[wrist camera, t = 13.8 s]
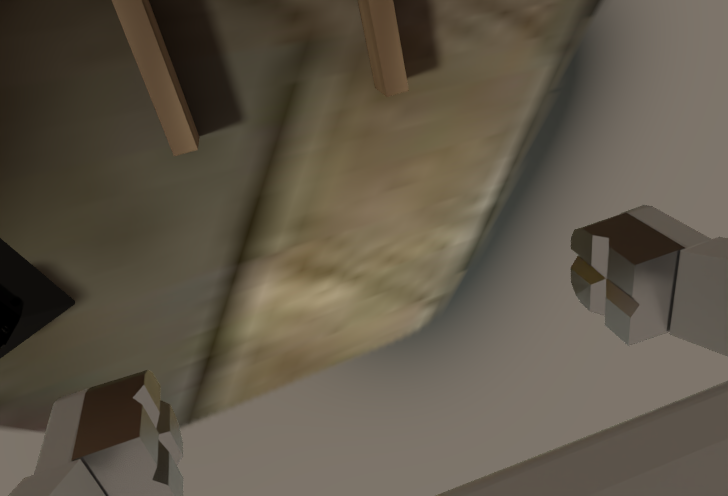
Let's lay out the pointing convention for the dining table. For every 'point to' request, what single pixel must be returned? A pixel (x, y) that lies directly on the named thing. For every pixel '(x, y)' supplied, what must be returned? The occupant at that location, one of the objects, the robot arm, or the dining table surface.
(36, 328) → the black box
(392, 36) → the bay
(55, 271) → the dining table surface
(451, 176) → the dining table surface
